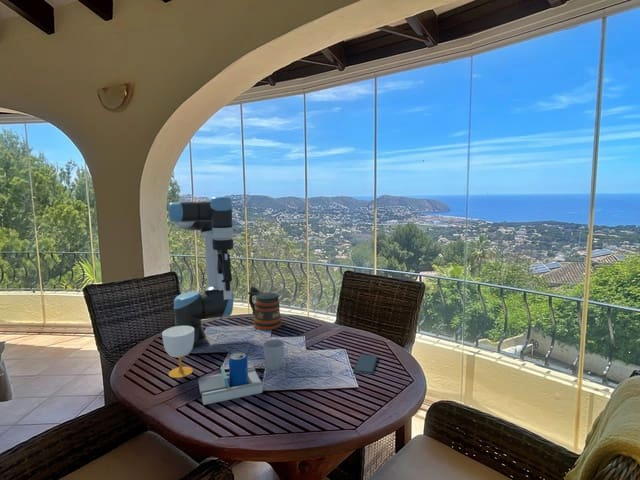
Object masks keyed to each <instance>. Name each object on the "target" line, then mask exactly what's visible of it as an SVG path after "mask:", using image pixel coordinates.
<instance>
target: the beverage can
mask: <svg viewBox="0 0 640 480" xmlns="http://www.w3.org/2000/svg"><path fill="white" fill-rule="evenodd" d="M248 369H249V367H248V356H247V355H246V353H245V352H234V353H231V354H230V356H229V358H228V373H229V377H230V388H231V387H236V386H241V385H246V384H248Z"/></svg>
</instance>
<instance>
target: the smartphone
mask: <svg viewBox="0 0 640 480" xmlns="http://www.w3.org/2000/svg"><path fill="white" fill-rule="evenodd" d="M377 361H378V355H376V354H369V353H360V354H359V357H358V358H357V361H356V364H355V366H354V368H353V369H354V370H353V372H354V373H359V374H367V375H373V374H374V372H375V369H376V368H375V367H376V365H377Z"/></svg>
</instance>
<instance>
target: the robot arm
mask: <svg viewBox="0 0 640 480" xmlns="http://www.w3.org/2000/svg"><path fill="white" fill-rule="evenodd" d="M232 201H233V200H232V198H231V197H230V196H213V197H211V199H210V201H192V202H191V201H188V202H186V201H184V202H183V201H182V202H181V201H176V202H175V201H174V202H170V203H168V218H169V222H170V223H171V222H172V223H174V224H175V226H177V227H178V228H181V229H183V230H188V231H200V234H201V236H203V238H204V245H205V247H204V250H205V263H206V278H207V282H206V283H207V287H206V288H205V289H204V294H201V292H200V291H194V290H193V291H187V292H184V293H181V294H179V295H177V296H176V297H175V298H174V299H173V305H174V306H173V309H174V327H175V326H191V327H193V328H194V344H193V348H197V347H200V346H202V345H204V344H205V343H206V342H207V335H206V332H205V330H204V328H203V324H202V321H203V320H209V319H210V320H211V319H219V318H221V319H222V318H226V317H230V316H231V315H233V314H232V313H233V310H234V309H233V308H234V292H233V291H232V281H233V277H232V268H231V254H230V253H228V251H231V250H233V249H234V239H233V238H234V227H233V202H232ZM193 348H192V349H193Z"/></svg>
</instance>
